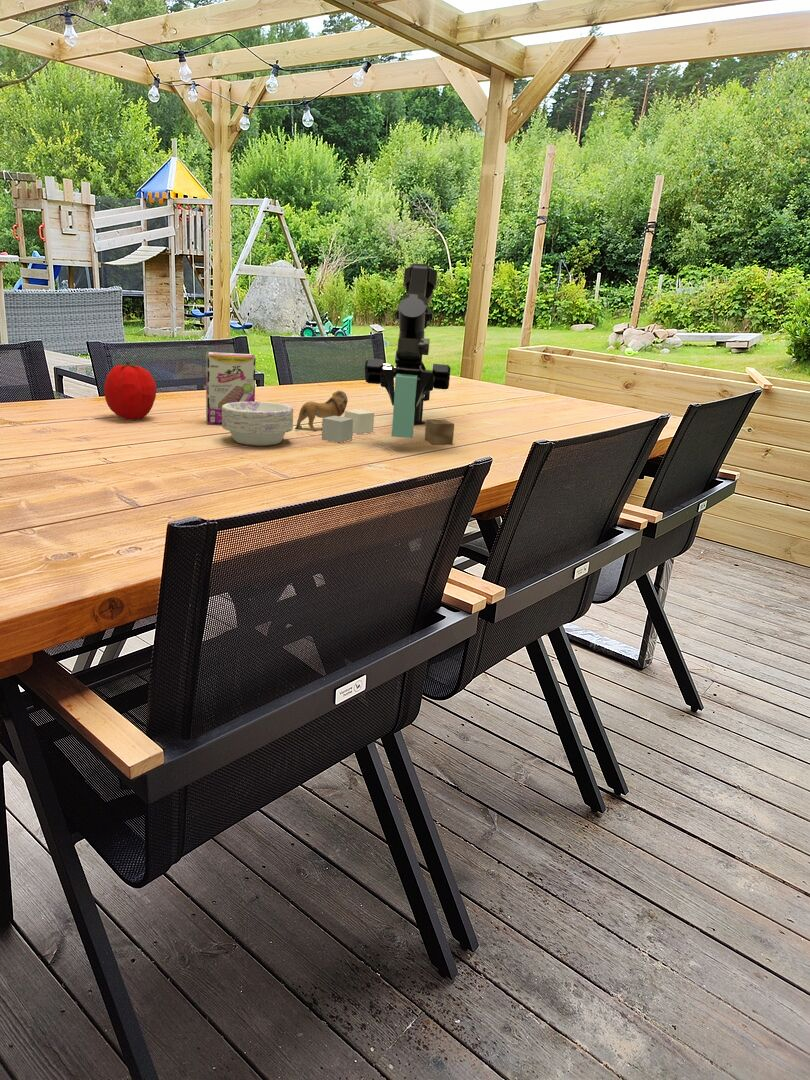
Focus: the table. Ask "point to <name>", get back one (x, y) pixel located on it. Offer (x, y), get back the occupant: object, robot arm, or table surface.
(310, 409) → the lion figurine
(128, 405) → the tomato
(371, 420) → the off-white cube
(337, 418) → the grey cube
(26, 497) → the table surface
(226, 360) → the candy bar box
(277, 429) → the paper bowls
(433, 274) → the robot arm
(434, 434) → the walnut cube
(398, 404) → the green block
